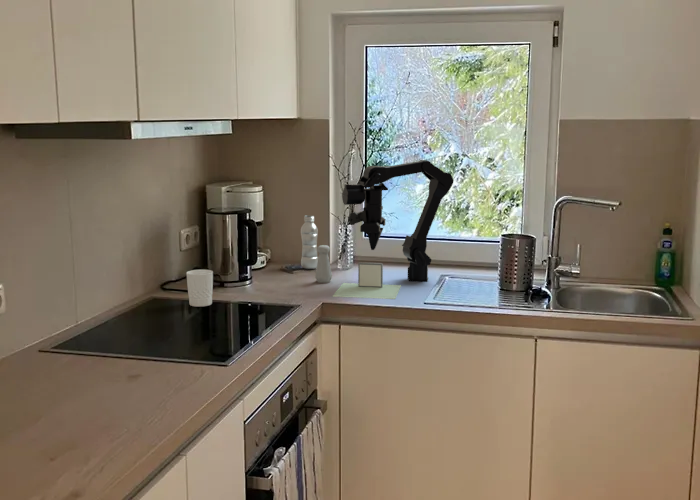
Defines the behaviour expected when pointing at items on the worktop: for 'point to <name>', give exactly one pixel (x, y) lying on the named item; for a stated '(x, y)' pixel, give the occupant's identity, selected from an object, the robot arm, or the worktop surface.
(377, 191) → the robot arm
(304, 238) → the plastic bottle
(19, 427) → the worktop surface
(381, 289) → the trivet mat
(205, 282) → the white cup
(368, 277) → the slate tile
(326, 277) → the salt shaker
